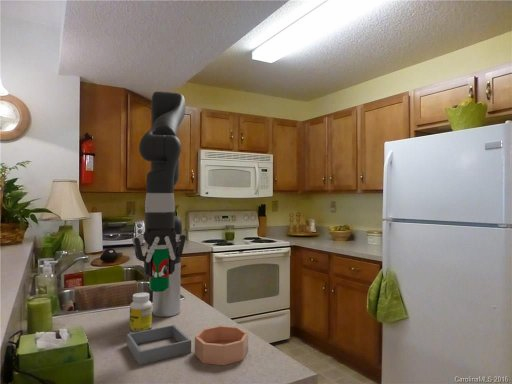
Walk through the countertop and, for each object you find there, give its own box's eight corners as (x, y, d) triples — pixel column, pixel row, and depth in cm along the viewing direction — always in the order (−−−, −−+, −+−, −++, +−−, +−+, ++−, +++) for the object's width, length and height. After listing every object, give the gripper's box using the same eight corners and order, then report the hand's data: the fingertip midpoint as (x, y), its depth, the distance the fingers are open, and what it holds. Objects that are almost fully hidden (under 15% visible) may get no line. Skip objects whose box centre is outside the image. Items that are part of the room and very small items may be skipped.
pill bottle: (125, 332, 102) (126, 294, 102) (144, 326, 106) (145, 290, 107) (136, 338, 98) (136, 298, 98) (155, 332, 102) (156, 294, 102)
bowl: (189, 349, 90) (189, 331, 91) (231, 339, 97) (231, 322, 97) (209, 369, 80) (209, 349, 80) (255, 356, 87) (256, 338, 87)
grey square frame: (126, 345, 93) (126, 334, 93) (173, 335, 100) (174, 324, 100) (139, 365, 82) (139, 352, 82) (191, 352, 89) (191, 340, 89)
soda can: (171, 287, 94) (171, 242, 94) (166, 292, 89) (167, 245, 89) (152, 287, 94) (152, 242, 94) (146, 292, 89) (147, 245, 89)
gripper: (181, 209, 99) (180, 269, 98) (128, 210, 91) (127, 275, 91) (191, 210, 92) (190, 274, 92) (135, 211, 85) (134, 281, 84)
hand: (159, 274), depth 91 cm, fingers closed on soda can, 5 cm apart
